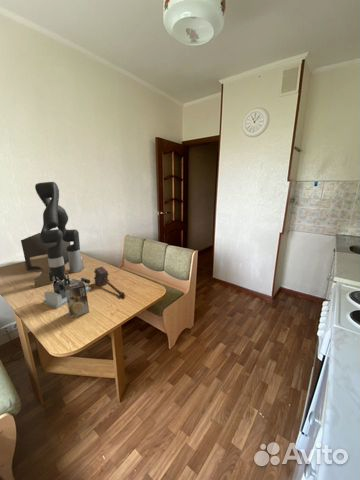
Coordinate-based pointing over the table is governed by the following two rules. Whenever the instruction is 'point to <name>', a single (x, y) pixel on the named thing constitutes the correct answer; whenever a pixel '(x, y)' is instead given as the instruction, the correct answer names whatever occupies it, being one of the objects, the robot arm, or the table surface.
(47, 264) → the decorative block
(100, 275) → the hammer
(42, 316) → the table surface
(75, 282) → the free jaw
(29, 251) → the dark grey angular block
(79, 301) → the coffee box
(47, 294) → the vise base
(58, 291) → the steel block
